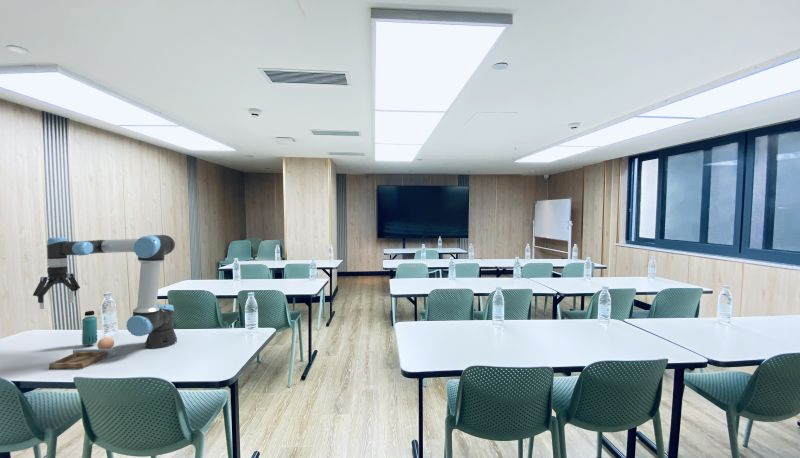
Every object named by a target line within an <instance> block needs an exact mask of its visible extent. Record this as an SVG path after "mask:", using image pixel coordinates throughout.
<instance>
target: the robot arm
mask: <svg viewBox="0 0 800 458" xmlns="http://www.w3.org/2000/svg"><path fill="white" fill-rule="evenodd" d="M175 247H176V243H175V240H174V239H173V237H171V236H169V235H166V234H155V235H154V234H153V235H152V234H151V235H145V236H144V235H143V236H141V237H140V238H128V239H127V238H126V239H125V238H124V239H123V238H122V239H97V240H95V239H94V240H77V241H74V240H73V241H69V240H68V237H49V238H48V239H47V242H46V250H47V251H46V253H47V259H46V261H47V267H46V269H47V276H41V277H40V279H39V283H38V285H37V286H36V288H35V290H34V292H33V294H32V296H34V297H37V303H38V304H39V309H40V310H46V309H47V305H46V304H47V296H46V294H47V292H49V290H50V289H51V288H52V287H53V286H55V285H58V284H62V285H64V286H65V287H66V288H67V289H69V291H68V303H71V304H74V303H75V301H76V299H75V297H76V296H77V291H78V290H79V289H80V288H81V286H80V284H79V283H78V281H77V280H76V278H75V275H74V273H69V272H68V256H88V255H92V254H108V253H109V254H110V253H113V254H114V253H116V254H117V253H134V254H135V255H136V257H137V261H138V262H139V263H140V269H139V270H140V271H139V280H138V281H139V283H138V292H137V304H136V307H135V308H134V309H132V316H131V317H130V318H128V320H127V321H126V329H127V331H128V332H129V333H130V334H131V335H132V336H135V337H143V336H146V335H147V337H146V340H145V342H144V343H145V348H146V349H160V348H166V346H167V347H170V346H172V344H173V345H175V344H176V343H177V342H178V337H177V334H176V331H175V329H174V325H175V324H174V323H175V322H174V321H175V318H174V317H175V316H174V315H175V314H174V313H175V309H174V308H175V307H174V305H173V304H158V293H159V284H160V273H161V263H163V262H164V261H165V256H166V255H168V254H171V253H173V251H174V250H175ZM175 342H176V343H175ZM174 343H175V344H174ZM169 345H170V346H169Z"/></svg>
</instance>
